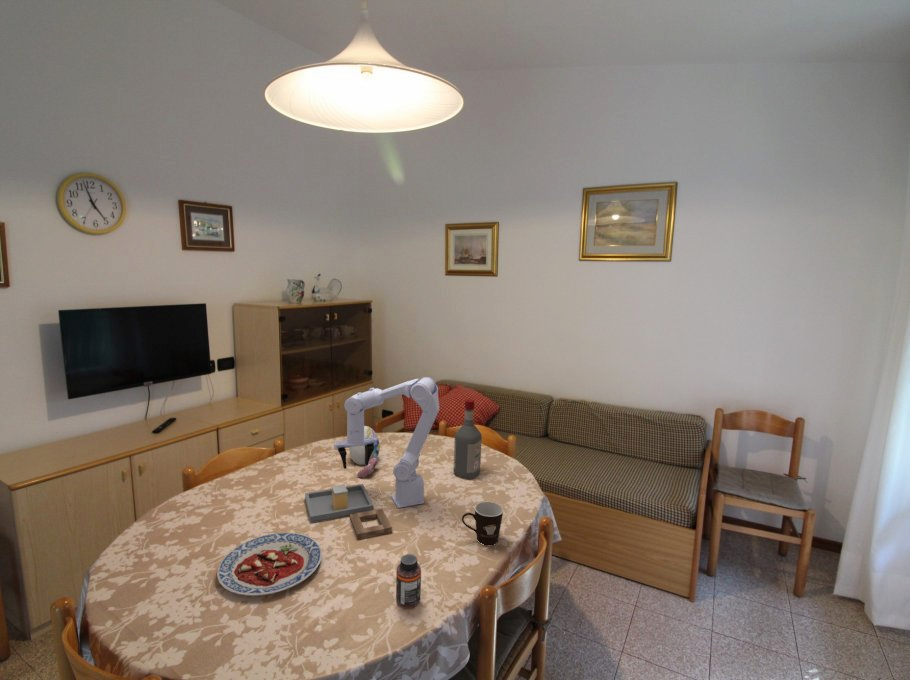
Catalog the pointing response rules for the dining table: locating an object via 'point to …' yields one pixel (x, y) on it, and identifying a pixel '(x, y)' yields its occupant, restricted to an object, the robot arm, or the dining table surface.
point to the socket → (372, 531)
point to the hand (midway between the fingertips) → (355, 465)
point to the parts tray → (323, 509)
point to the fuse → (339, 497)
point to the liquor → (467, 446)
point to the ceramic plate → (269, 564)
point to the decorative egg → (359, 451)
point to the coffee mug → (487, 522)
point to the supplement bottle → (408, 582)
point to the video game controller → (368, 468)
